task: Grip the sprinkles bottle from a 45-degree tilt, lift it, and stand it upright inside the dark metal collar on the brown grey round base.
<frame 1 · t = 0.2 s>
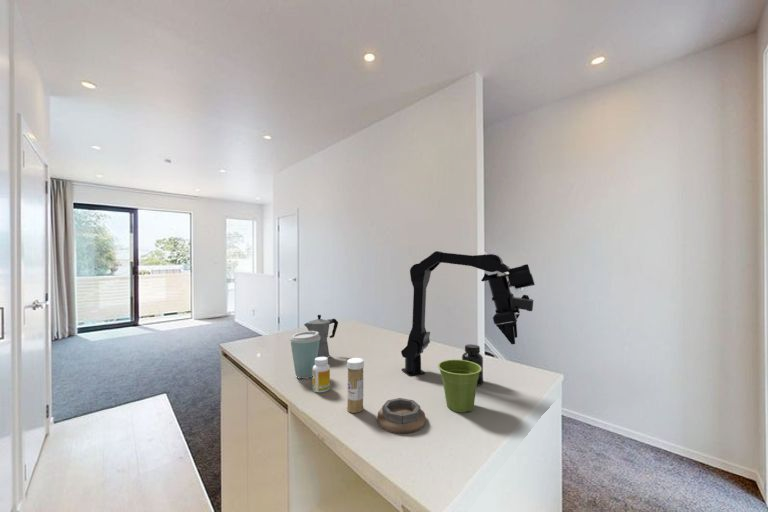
hand: (514, 340, 95), 15 cm above the worktop, tool pointing down, fingers open, 9 cm apart
sprinkles bottle: (355, 410, 82), on the worktop
brown grey round base: (401, 420, 76), on the worktop
plant pot: (459, 407, 83), on the worktop
supplement bottle 2: (321, 390, 95), on the worktop
disposable coffee cup: (305, 376, 107), on the worktop
coffeepot: (321, 357, 129), on the worktop
supplement bottle: (472, 382, 101), on the worktop
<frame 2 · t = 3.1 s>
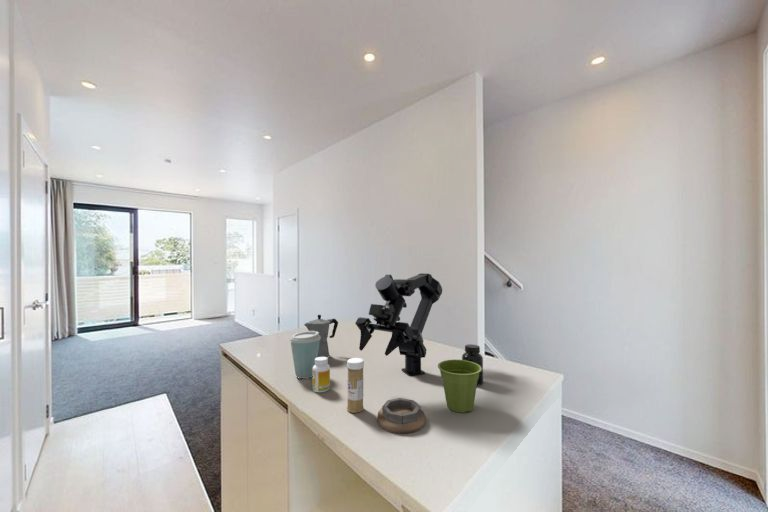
hand: (372, 352, 89), 14 cm above the worktop, tool tilted 45°, fingers open, 9 cm apart
nothing on the worktop moved.
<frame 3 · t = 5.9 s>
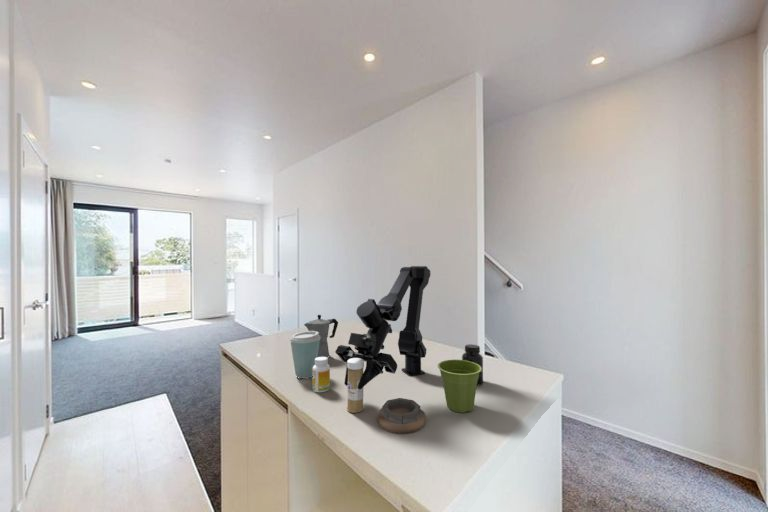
hand: (352, 386, 81), 7 cm above the worktop, tool tilted 45°, fingers closed on sprinkles bottle, 4 cm apart
sprinkles bottle: (355, 410, 82), on the worktop, touching gripper
everything else where it was.
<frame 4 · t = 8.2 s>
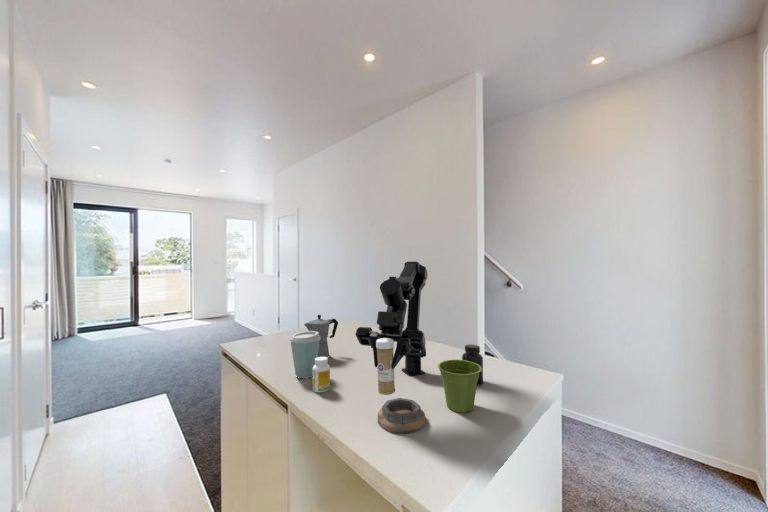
hand: (384, 367, 77), 13 cm above the worktop, tool tilted 45°, fingers closed on sprinkles bottle, 4 cm apart
sprinkles bottle: (386, 392, 78), point 6 cm above the worktop, touching gripper
everything else where it was.
when the fingers open (9 cm above the worktop, at t = 10.4 s): sprinkles bottle stays where it is, resting on brown grey round base.
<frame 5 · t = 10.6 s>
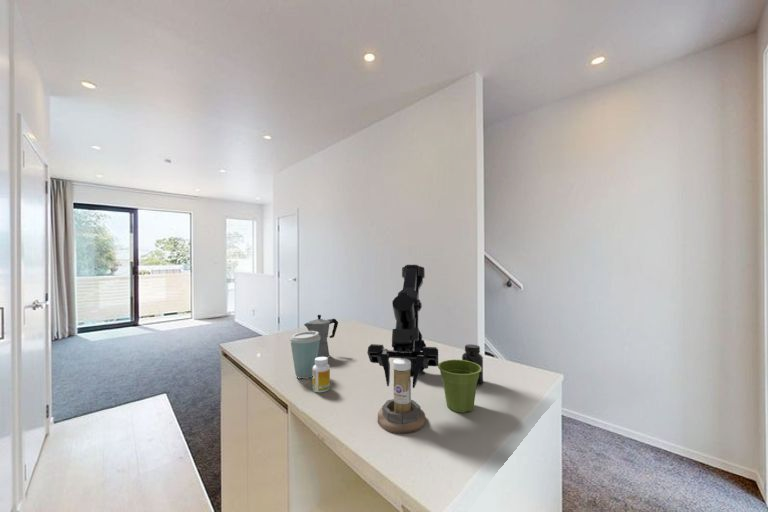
hand: (400, 386, 75), 9 cm above the worktop, tool tilted 45°, fingers open, 6 cm apart
sprinkles bottle: (402, 414, 77), point 1 cm above the worktop, touching brown grey round base
everything else where it was.
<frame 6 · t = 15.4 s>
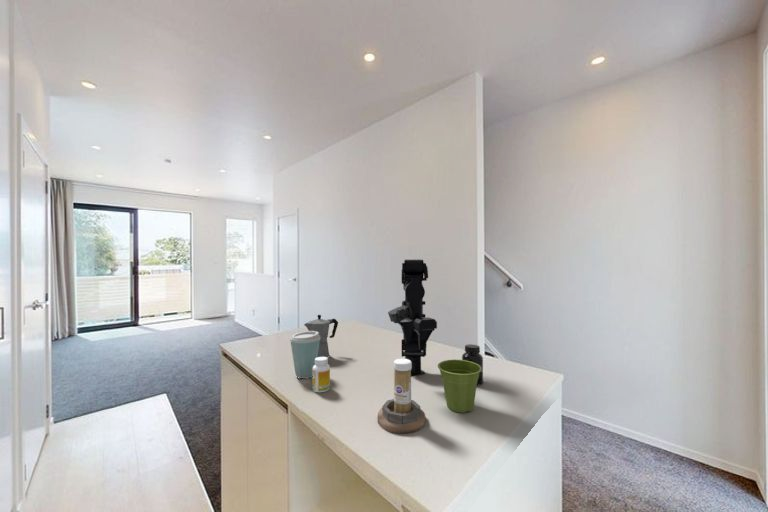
hand: (414, 346, 97), 13 cm above the worktop, tool pointing down, fingers open, 9 cm apart
nothing on the worktop moved.
at the end: sprinkles bottle 0.4 cm off-centre on the brown grey round base, point 1.3 cm above the brown grey round base's base; sprinkles bottle tilted 0°; the gripper is holding nothing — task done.
